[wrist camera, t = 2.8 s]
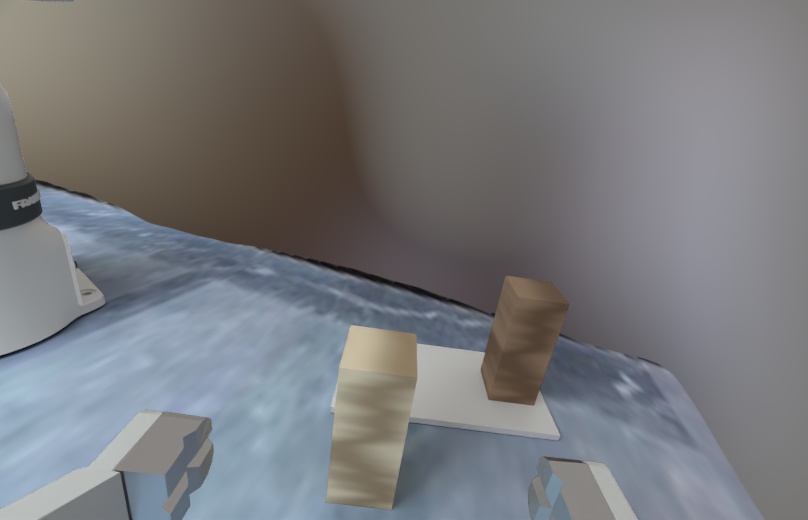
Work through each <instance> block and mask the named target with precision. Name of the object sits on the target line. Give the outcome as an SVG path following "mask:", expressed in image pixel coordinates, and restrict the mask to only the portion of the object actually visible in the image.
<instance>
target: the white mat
mask: <svg viewBox="0 0 808 520" xmlns="http://www.w3.org/2000/svg"><path fill="white" fill-rule="evenodd" d="M484 355H485V352H477V351H469V350H462V349H454V348H447V347H439V346H432V345H424V344H417V377H418V378H417V383H416V388H415V393H414V398H413V403H412V408H411V414H410V419H409V422H412V423H420V424H428V425H436V426H444V427H452V428H460V429H468V430H476V431H484V432H492V433H500V434H508V435H516V436H524V437H532V438H540V439H549V440H557V441H558V440H559V438H560V434H559V431H558V429H557V427H556V425H555V423H554V421H553V418H552V416H551V414H550V412H549V410H548V408H547V405H546V403H545V401H544V399H543V397H542V395H541V392H540V390H539V393H538V396H537V399H536V402H535V405H534V406H532V405H524V404H516V403H508V402H500V401H493V400H488V396H487V392H486V389H485V385H484V381H483V378H482V374H481V366H482V362H483V359H484ZM337 384H338V381H337ZM336 394H337V385H336V388H335V392H334V396H333V399H332V403H331V407H330V412H331V413H335V404H336Z"/></svg>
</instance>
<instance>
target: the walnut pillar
mask: <svg viewBox="0 0 808 520" xmlns="http://www.w3.org/2000/svg"><path fill="white" fill-rule="evenodd" d="M568 307H569V303H568V302H567V301H566V300H565V298H564V297H563V296H562V294H561V293H560V292H559V291H558V290H557V288H556V287H555V286H554V285H553V284H552V282H548V281H541V280H534V279H526V278H519V277H512V276H506V277H505V281H504V284H503V288H502V292H501V296H500V299H499V303H498V307H497V310H496V314H495V318H494V321H493V325H492V329H491V333H490V336H489V340H488V344H487V348H486V351H485V355H484V359H483V362H482V366H481V374H482V378H483V381H484V385H485V389H486V392H487V396H488V400H493V401H500V402H508V403H516V404H524V405H532V406H534V405H535V402H536V399H537V396H538V393H539V390H540V387H541V385H542V382H543V379H544V376H545V373H546V370H547V367H548V365H549V362H550V359H551V356H552V353H553V350H554V347H555V344H556V342H557V339H558V336H559V333H560V330H561V327H562V324H563V322H564V318H565V316H566V313H567V310H568Z"/></svg>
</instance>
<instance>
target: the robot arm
mask: <svg viewBox="0 0 808 520" xmlns="http://www.w3.org/2000/svg"><path fill="white" fill-rule="evenodd" d="M28 1H51V2H52V1H53V2H74V1H76V0H28ZM40 197H41V196H40V192H39V189H38V187H37V186H36V183H35V180H34V177H33V176H32V175H31V174H29V173H28V172H26V168H25V163H24V159H23V155H22V150H21V146H20V141H19V137H18V133H17V128H16V125H15V119H14V115H13V111H12V107H11V102H10V98H9V95H8V94H7V92H6V90H5V89H4V87H3V86H2V84H1V83H0V355H4V354H7V353H10V352H13V351H16V350H19V349H21V348H24V347H27V346H29V345H32V344H34V343H36V342H39V341H41V340H43V339H45V338H47V337H49V336H51V335H53V334H54V333H56V332H58V331H59V330H61V329H62V328H64V327H65V326H67V325H68V324H69V323H71V322H72V321H73V320H74V319H76V318H77V317H79V316H81V315H83V314H85V313H88V312H90V311H92V310H95V309H97V308H99V307H101V306H103V305H104V304H105V303H106V300H105V298H104V295H103V293H102V292H101V291H100V290H99V289H98V288H97V287H96V286H95V285H94V284H93V283H92V282H91V281H90V280H89V279H88V277H87V276H86V275H85V274H84V273H83V272H82V271H81V270H80V269H79V268H78V267H77V264H76V262H75V261H74V260H73V259H72V254H71V250H70V246H69V241H68V238H67V236H66V235H64V234H61V233H60V231H59V230H58V229H57V228H55V227H52V226H51V225H49V224H48V223H46V222H45V221H44V220H43V218H42V217H41V216H40V214H41V213H42V207H41V203H40ZM211 431H212V424H211V419H209V418H207V417H200V416H193V415H186V414H179V413H172V412H163V411H156V410H148V409H145V410H143V411H141V412H139V413H138V414H137V415H136V416H135V417H134V418H133V419H132V420H131V421H130V422H129V423H128V425H127V426H126V427H125V428H124V429H123V430H122V431H121V432H120V433H119V434H118V435H117V436H116V438H115V439H114V440H113V441H112V442H111V443H110V444H109V445H108V446H107V447H106V448H105V449H104V450H103V452H102V453H101V454H100V455H99V456H98V457H97V458H96V459H95V460H94V461H93V462H92V463H91V465H90V466H89V467H88V468H78V469H76V470H74V471H73V472H71V473H69V474H67V475H65V476H63V477H61V478H59V479H57V480H55V481H53V482H52V483H50V484H48V485H46V486H44V487H42V488H40V489H38V490H36V491H34V492H32V493H30V494H29V495H27V496H25V497H23V498H21V499H19V500H17V501H15V502H13V503H11V504H9V505H8V506H6V507H4V508H2V509H0V520H182V519H183V517H184V515H185V514H186V512H187V510H188V508H189V507H190V497H189V495H190V494H191V493H193V492H194V491H195V490H197V489H198V488H200V487H201V486H202V484H203V482H204V480H205V478H206V476H207V474H208V472H209V469H210V466H211V463H212V459H213V452H214V451H213V443H212V442H211V441H210V439H209V438H208V436H209V434H210V432H211ZM536 468H537V470H538V473H539V476H537V477H536V478H534V479H533V480H532V481H531V484H530V487H529V494H528V504H529V511H530V515H531V519H532V520H638V519H637V517H636V515H635V514H634V512H633V510H632V508H631V507H630V505H629V503H628V501H627V500H626V498H625V496H624V494H623V493H622V491H621V489H620V487H619V486H618V484H617V482H616V480H615V479H614V477H613V475H612V473H611V471H610V470H609V468H608V467H607V466H606V465H605V464H604V463H598V462H589V461H580V460H572V459H562V458H553V457H542V458H541V459H540V460H539V462H538V464H537V467H536Z"/></svg>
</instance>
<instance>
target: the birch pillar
mask: <svg viewBox="0 0 808 520" xmlns="http://www.w3.org/2000/svg"><path fill="white" fill-rule="evenodd" d="M417 378H418V377H417V335H416V334H413V333H406V332H398V331H391V330H383V329H376V328H369V327H361V326H354V325H351V327H350V330H349V334H348V338H347V341H346V345H345V348H344V352H343V355H342V359H341V362H340V366H339V373H338V384H337V394H336V404H335V415H334V425H333V435H332V446H331V456H330V466H329V477H328V487H327V497H326V502H328V503H337V504H346V505H354V506H363V507H371V508H380V509H389V510H392V506H393V501H394V496H395V491H396V486H397V480H398V475H399V470H400V465H401V460H402V455H403V450H404V444H405V439H406V434H407V429H408V424H409V419H410V414H411V408H412V403H413V398H414V393H415V388H416V383H417Z"/></svg>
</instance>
